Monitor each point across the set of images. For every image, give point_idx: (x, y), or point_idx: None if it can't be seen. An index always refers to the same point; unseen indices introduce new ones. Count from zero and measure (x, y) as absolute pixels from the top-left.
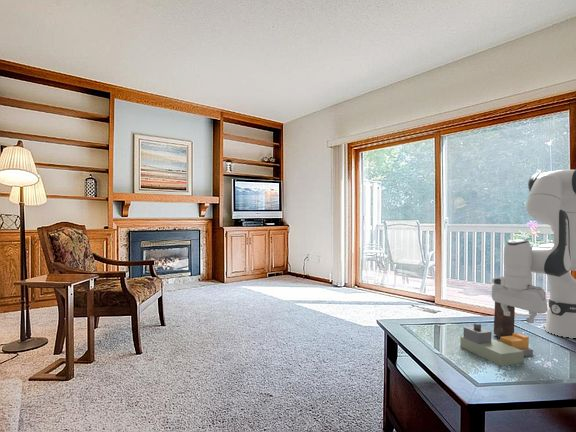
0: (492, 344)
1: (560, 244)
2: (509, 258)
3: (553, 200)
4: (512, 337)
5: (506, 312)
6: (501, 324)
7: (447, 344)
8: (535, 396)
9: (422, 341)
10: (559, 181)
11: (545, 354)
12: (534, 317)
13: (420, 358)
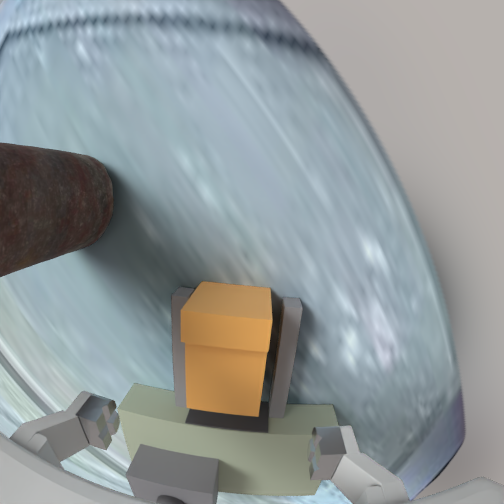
0: (236, 468)
1: None
2: None
3: None
4: (211, 365)
5: (105, 444)
6: (52, 258)
7: (124, 457)
8: (420, 482)
9: (101, 475)
10: None
11: (318, 229)
12: (371, 461)
13: None
